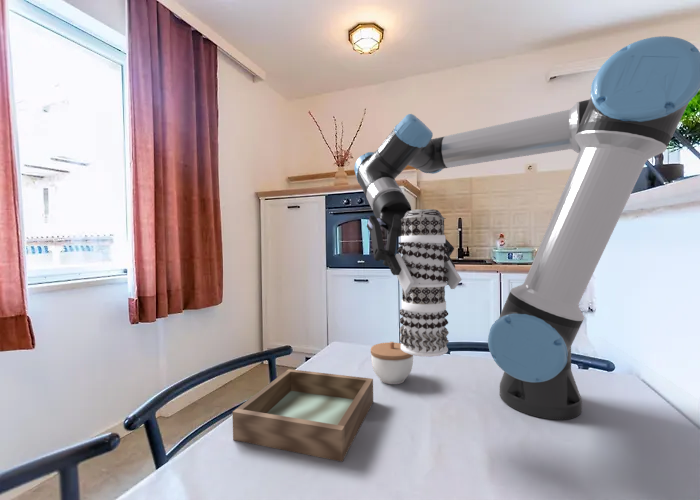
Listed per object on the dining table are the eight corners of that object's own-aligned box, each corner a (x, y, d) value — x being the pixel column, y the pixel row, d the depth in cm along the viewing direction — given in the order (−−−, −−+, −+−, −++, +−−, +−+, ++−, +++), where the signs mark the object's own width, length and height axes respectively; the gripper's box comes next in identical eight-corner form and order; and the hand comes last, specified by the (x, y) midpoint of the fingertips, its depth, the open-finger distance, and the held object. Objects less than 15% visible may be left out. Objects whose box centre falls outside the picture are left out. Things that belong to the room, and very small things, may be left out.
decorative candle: (387, 349, 59) (386, 210, 59) (414, 338, 66) (413, 213, 65) (434, 361, 53) (432, 206, 52) (458, 347, 60) (457, 210, 59)
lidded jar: (413, 390, 76) (413, 350, 76) (368, 386, 79) (367, 347, 78) (414, 372, 87) (413, 337, 87) (373, 369, 89) (373, 335, 89)
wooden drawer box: (373, 401, 71) (372, 378, 71) (342, 461, 52) (341, 430, 52) (288, 390, 77) (288, 369, 77) (233, 439, 58) (232, 411, 58)
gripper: (424, 217, 77) (473, 294, 63) (337, 216, 69) (369, 303, 55) (437, 191, 72) (494, 268, 58) (345, 186, 64) (384, 274, 50)
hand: (433, 285), depth 56 cm, fingers closed on decorative candle, 9 cm apart
